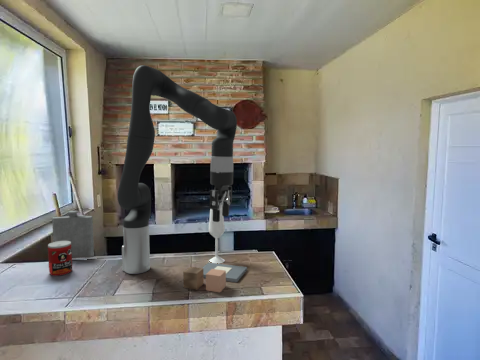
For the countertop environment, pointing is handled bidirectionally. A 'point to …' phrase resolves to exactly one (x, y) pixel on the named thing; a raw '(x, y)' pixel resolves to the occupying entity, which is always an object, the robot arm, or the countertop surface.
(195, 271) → the walnut block
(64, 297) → the countertop surface
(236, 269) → the slate board
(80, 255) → the hip flask
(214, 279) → the terracotta block
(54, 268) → the canned food
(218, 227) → the champagne flute
